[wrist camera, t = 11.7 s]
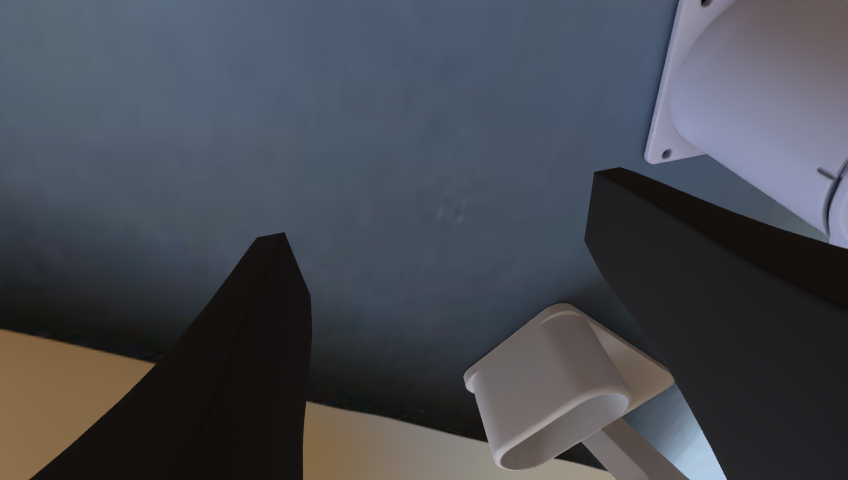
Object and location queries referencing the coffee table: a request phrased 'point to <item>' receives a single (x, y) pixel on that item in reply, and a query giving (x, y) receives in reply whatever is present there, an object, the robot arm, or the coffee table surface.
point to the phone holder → (568, 395)
